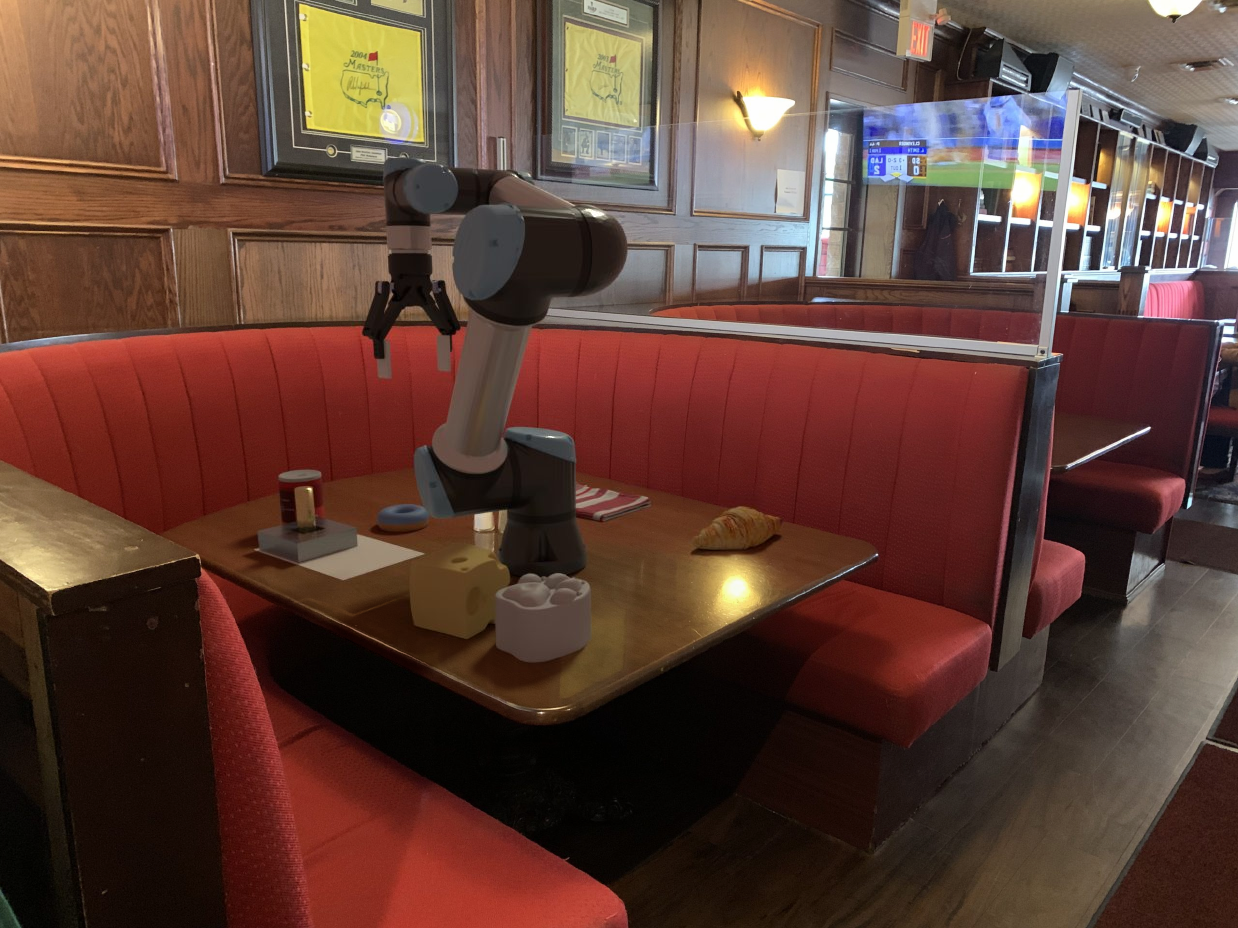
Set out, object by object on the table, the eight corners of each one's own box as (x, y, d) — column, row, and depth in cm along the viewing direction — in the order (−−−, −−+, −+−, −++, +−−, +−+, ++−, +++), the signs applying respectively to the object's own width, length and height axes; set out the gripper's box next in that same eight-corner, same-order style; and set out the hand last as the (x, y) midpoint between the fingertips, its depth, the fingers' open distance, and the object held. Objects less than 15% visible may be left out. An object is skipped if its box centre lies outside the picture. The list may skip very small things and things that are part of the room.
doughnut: (420, 516, 181) (417, 495, 179) (438, 530, 173) (435, 508, 171) (371, 528, 176) (368, 506, 174) (388, 543, 168) (385, 521, 166)
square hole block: (357, 546, 161) (356, 527, 160) (298, 563, 151) (297, 543, 151) (317, 534, 168) (316, 516, 167) (259, 549, 159) (257, 530, 158)
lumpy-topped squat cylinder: (486, 642, 121) (484, 581, 119) (561, 617, 129) (560, 560, 128) (533, 667, 113) (531, 603, 112) (609, 639, 122) (609, 579, 120)
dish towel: (571, 490, 205) (571, 479, 204) (653, 507, 190) (653, 495, 190) (518, 505, 192) (518, 493, 191) (601, 525, 178) (601, 512, 177)
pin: (321, 547, 160) (315, 487, 157) (306, 551, 158) (300, 491, 155) (311, 544, 162) (306, 485, 159) (296, 548, 159) (291, 488, 157)
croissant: (703, 574, 158) (718, 542, 153) (672, 537, 164) (685, 504, 159) (788, 550, 170) (804, 519, 165) (756, 516, 176) (771, 485, 171)
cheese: (513, 616, 130) (512, 551, 128) (465, 643, 121) (462, 572, 119) (458, 603, 135) (456, 539, 133) (408, 627, 126) (404, 559, 124)
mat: (425, 555, 157) (425, 553, 157) (343, 582, 143) (343, 580, 143) (335, 529, 172) (335, 527, 172) (253, 551, 159) (253, 549, 159)
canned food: (331, 524, 176) (327, 469, 173) (314, 536, 168) (310, 479, 166) (294, 523, 176) (290, 468, 174) (275, 534, 169) (270, 478, 166)
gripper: (449, 253, 167) (453, 366, 172) (335, 251, 148) (343, 379, 152) (477, 253, 163) (481, 369, 167) (363, 251, 143) (371, 382, 148)
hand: (415, 374), depth 160 cm, fingers open, 13 cm apart
